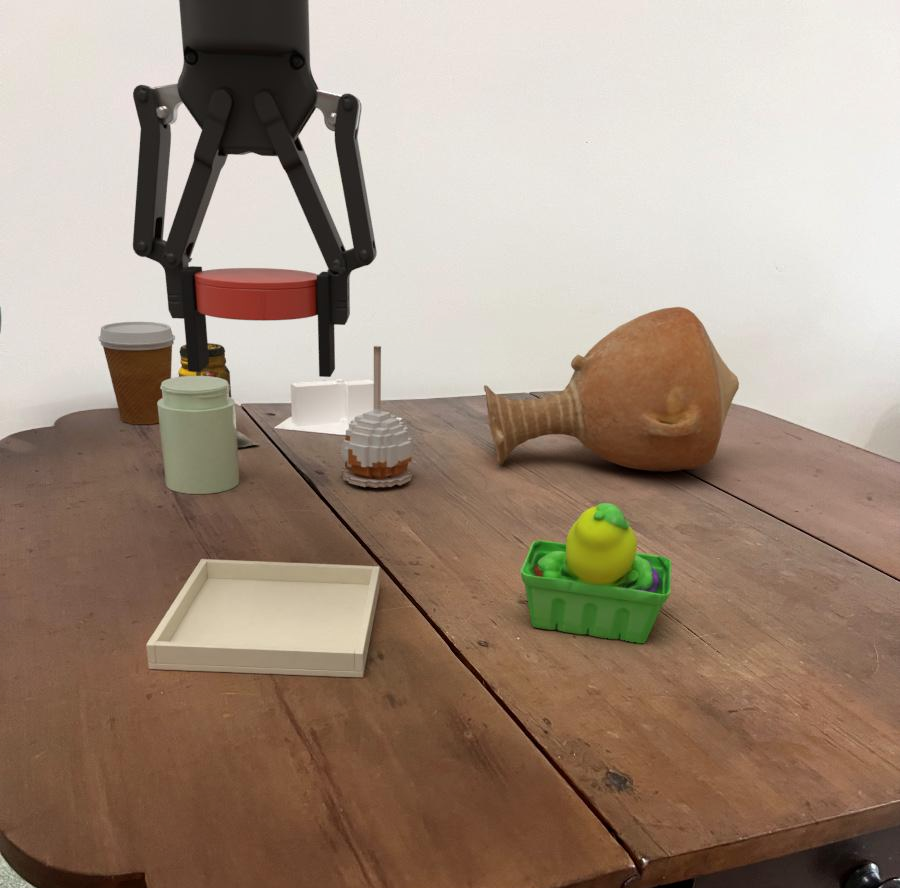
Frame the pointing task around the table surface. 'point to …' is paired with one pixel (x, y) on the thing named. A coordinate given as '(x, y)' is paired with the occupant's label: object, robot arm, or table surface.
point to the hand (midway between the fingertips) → (263, 369)
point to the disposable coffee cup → (138, 366)
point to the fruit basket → (596, 580)
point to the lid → (256, 293)
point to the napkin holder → (328, 405)
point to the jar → (198, 435)
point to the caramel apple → (377, 444)
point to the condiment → (213, 370)
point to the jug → (633, 397)
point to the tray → (269, 619)
